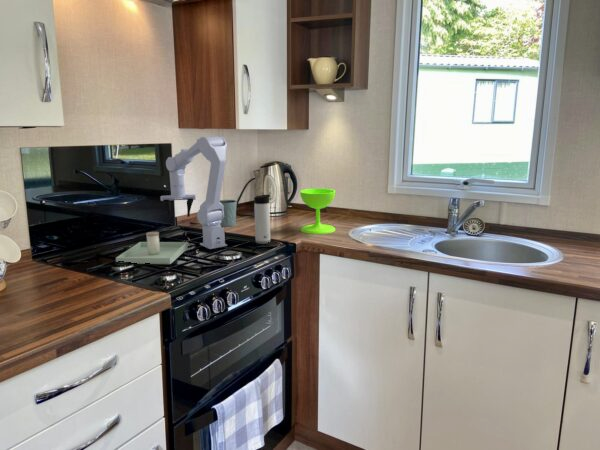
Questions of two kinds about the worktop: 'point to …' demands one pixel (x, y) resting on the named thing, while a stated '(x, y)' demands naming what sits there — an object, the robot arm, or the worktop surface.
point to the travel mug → (262, 219)
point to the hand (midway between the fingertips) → (179, 216)
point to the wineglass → (317, 208)
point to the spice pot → (153, 243)
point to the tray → (141, 256)
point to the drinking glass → (229, 213)
